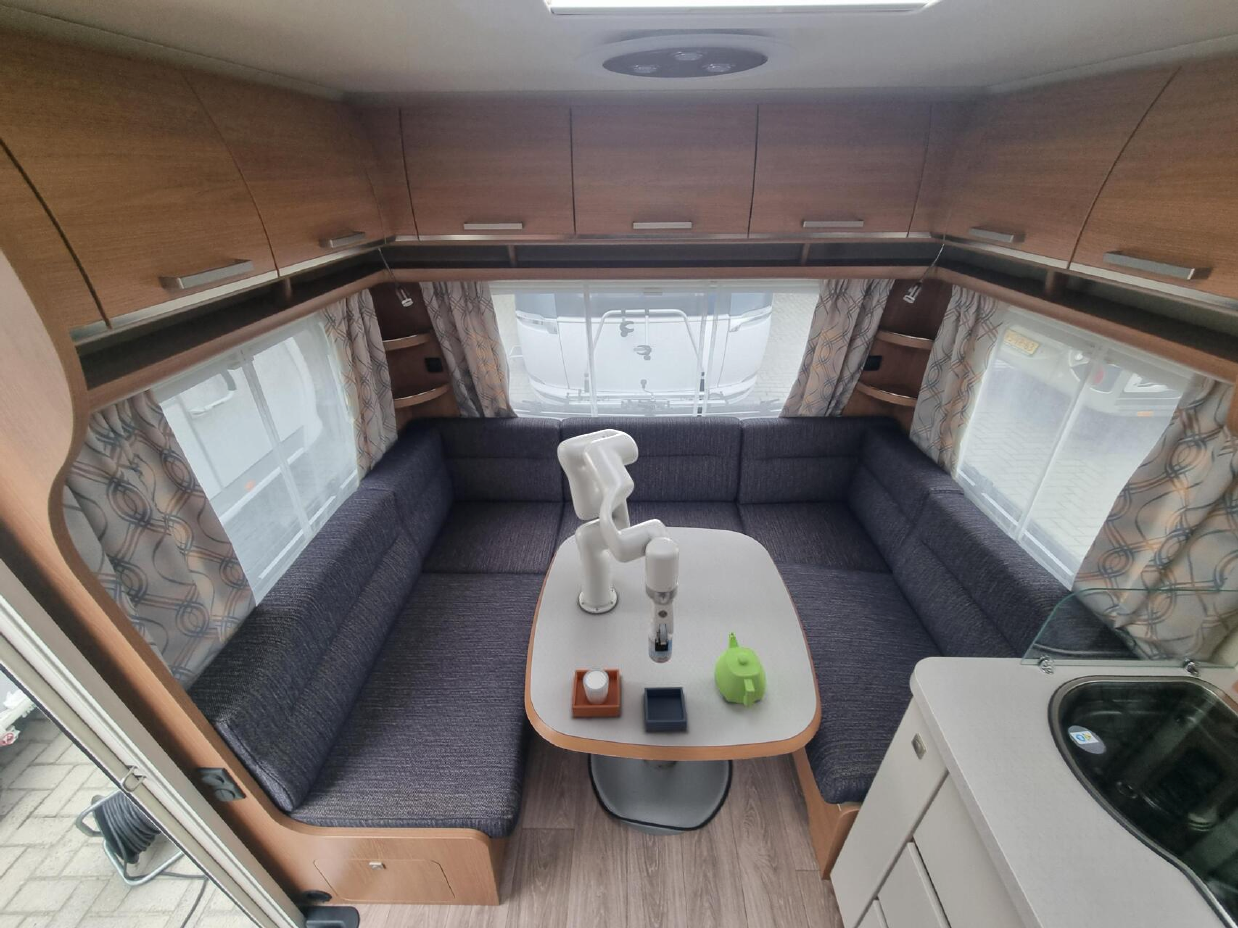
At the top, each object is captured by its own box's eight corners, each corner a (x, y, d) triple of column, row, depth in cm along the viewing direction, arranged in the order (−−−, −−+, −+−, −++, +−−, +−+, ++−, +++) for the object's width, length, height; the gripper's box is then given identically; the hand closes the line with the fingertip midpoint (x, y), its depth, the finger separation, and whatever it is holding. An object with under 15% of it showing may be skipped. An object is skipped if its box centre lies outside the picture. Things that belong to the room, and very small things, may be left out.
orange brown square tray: (576, 678, 138) (575, 669, 136) (619, 678, 138) (619, 669, 136) (573, 716, 128) (572, 707, 126) (619, 716, 128) (619, 706, 126)
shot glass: (606, 709, 129) (605, 693, 126) (581, 705, 131) (579, 688, 127) (612, 686, 135) (611, 670, 131) (588, 682, 136) (586, 666, 133)
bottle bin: (644, 696, 133) (644, 687, 131) (681, 695, 133) (682, 686, 131) (646, 731, 124) (646, 722, 122) (686, 730, 124) (686, 721, 122)
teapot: (706, 656, 143) (710, 627, 137) (752, 654, 144) (757, 624, 137) (722, 722, 126) (726, 692, 120) (773, 719, 126) (780, 689, 120)
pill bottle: (674, 647, 127) (675, 617, 122) (668, 666, 122) (669, 636, 117) (651, 641, 129) (652, 611, 123) (645, 660, 124) (645, 630, 118)
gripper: (682, 614, 106) (679, 668, 115) (673, 561, 121) (671, 612, 130) (647, 615, 106) (647, 669, 115) (643, 561, 121) (643, 613, 130)
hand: (660, 638), depth 123 cm, fingers closed on pill bottle, 6 cm apart
